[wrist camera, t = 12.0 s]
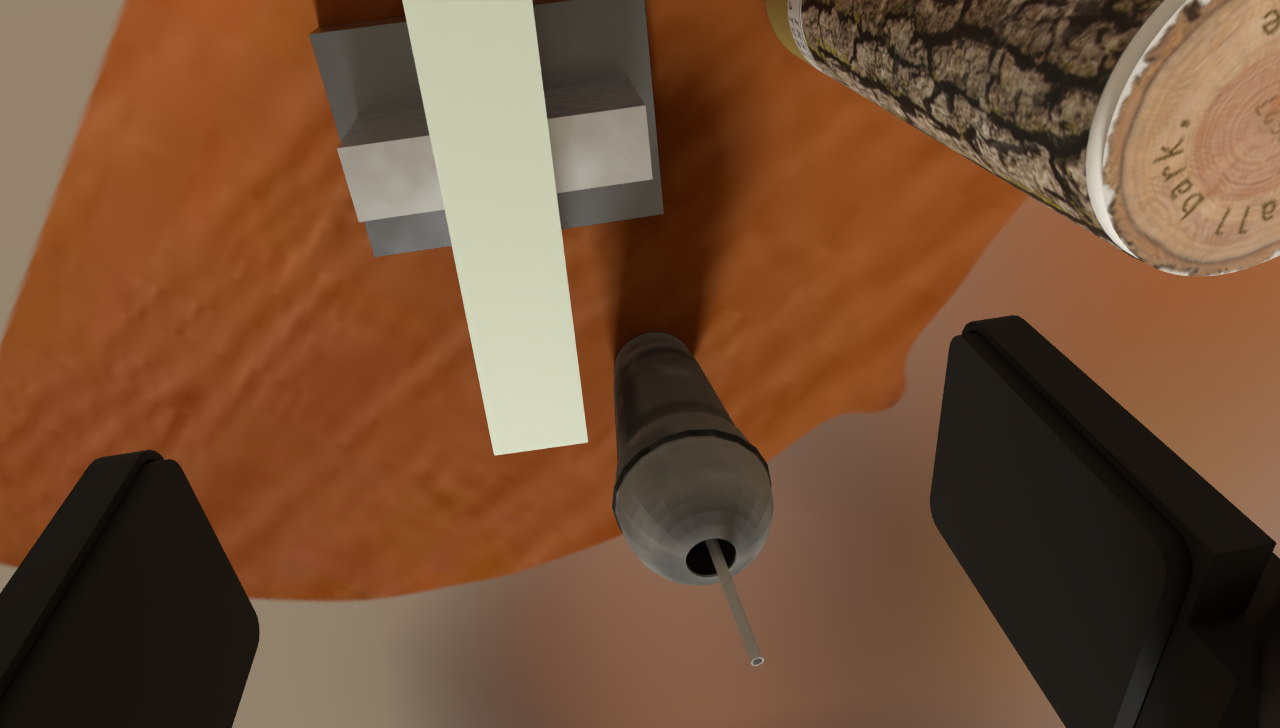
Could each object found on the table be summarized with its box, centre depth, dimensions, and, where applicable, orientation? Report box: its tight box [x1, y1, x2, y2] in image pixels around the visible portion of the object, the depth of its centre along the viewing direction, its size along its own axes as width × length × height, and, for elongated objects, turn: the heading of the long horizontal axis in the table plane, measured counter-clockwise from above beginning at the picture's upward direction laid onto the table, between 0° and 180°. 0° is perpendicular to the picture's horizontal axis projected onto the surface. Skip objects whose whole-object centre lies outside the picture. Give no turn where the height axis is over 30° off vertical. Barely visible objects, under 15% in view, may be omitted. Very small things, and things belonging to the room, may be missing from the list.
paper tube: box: [765, 0, 1280, 276], centre depth 27 cm, size 7×7×25 cm
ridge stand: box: [309, 0, 664, 257], centre depth 35 cm, size 10×14×7 cm
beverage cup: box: [612, 332, 774, 666], centre depth 38 cm, size 7×7×20 cm
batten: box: [402, 0, 588, 455], centre depth 31 cm, size 22×4×4 cm, turn 4°
